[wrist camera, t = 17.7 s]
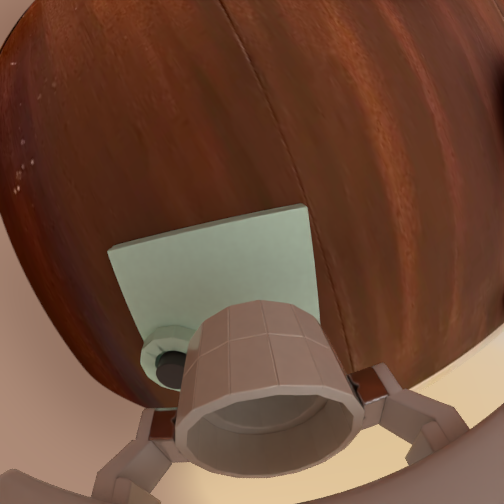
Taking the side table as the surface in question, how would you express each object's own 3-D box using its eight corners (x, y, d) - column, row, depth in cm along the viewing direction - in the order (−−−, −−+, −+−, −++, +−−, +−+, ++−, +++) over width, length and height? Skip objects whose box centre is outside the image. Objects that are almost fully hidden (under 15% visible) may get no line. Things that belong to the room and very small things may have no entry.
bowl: (211, 403, 13) (209, 483, 8) (169, 309, 11) (140, 401, 6) (325, 381, 13) (355, 456, 8) (319, 279, 11) (372, 358, 6)
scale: (162, 370, 23) (157, 393, 20) (110, 246, 18) (93, 260, 16) (317, 342, 23) (327, 364, 20) (301, 202, 19) (314, 211, 16)
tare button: (167, 377, 20) (164, 391, 18) (153, 352, 19) (149, 365, 17) (199, 374, 20) (198, 387, 18) (188, 348, 19) (185, 361, 17)
